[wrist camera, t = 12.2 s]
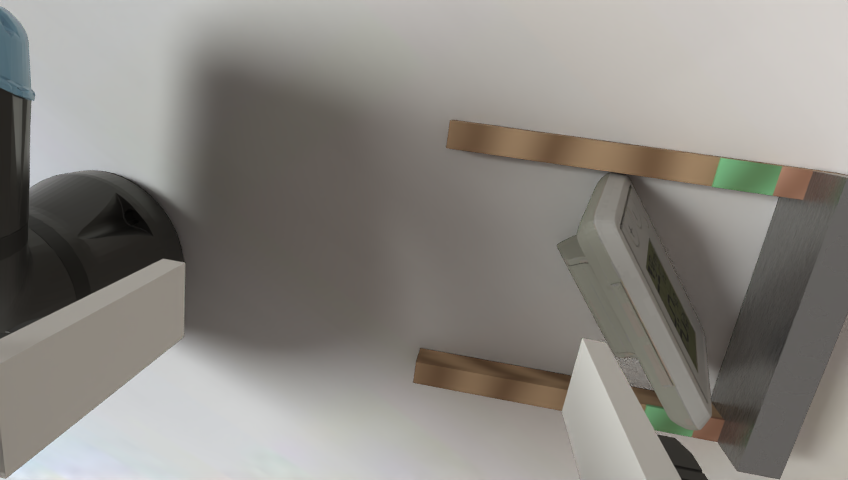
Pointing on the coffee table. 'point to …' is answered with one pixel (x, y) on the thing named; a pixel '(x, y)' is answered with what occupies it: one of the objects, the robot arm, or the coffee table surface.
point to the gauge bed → (606, 157)
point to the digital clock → (640, 299)
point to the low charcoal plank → (785, 328)
